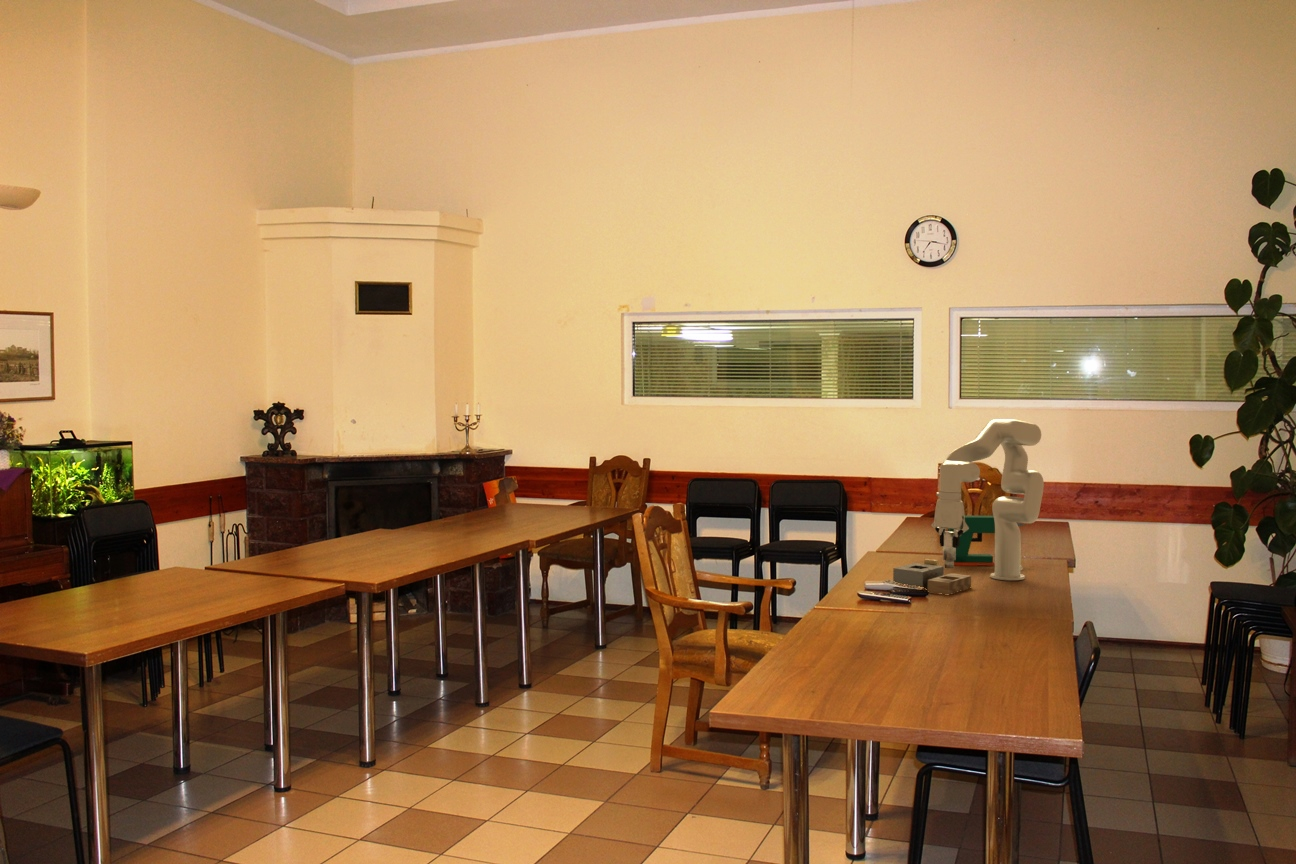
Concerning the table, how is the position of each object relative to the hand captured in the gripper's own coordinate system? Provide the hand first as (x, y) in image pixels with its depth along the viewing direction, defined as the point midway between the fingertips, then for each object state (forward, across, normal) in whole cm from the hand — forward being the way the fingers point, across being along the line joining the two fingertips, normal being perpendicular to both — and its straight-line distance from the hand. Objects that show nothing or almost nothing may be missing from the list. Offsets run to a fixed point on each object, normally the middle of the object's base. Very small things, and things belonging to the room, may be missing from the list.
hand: (949, 546), depth 386 cm
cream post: (+8, 0, 0) cm, 8 cm away
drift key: (+15, -12, +7) cm, 21 cm away
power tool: (+16, -14, +62) cm, 66 cm away
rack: (+16, 0, 0) cm, 16 cm away
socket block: (+16, -12, 0) cm, 20 cm away
